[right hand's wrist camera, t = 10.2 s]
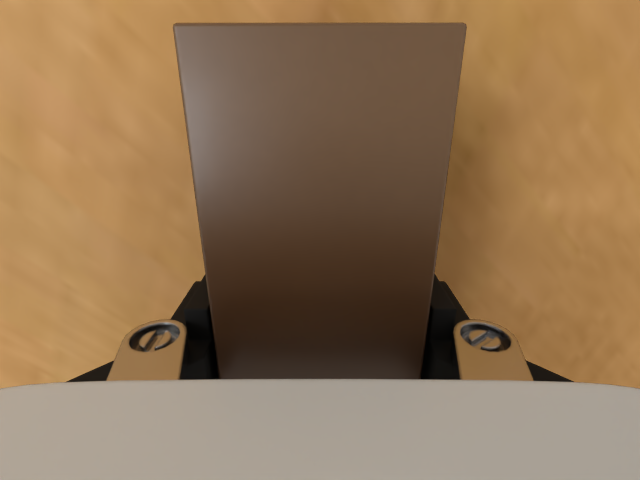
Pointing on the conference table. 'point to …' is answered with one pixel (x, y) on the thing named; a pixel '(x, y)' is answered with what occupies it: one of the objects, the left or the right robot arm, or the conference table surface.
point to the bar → (319, 189)
